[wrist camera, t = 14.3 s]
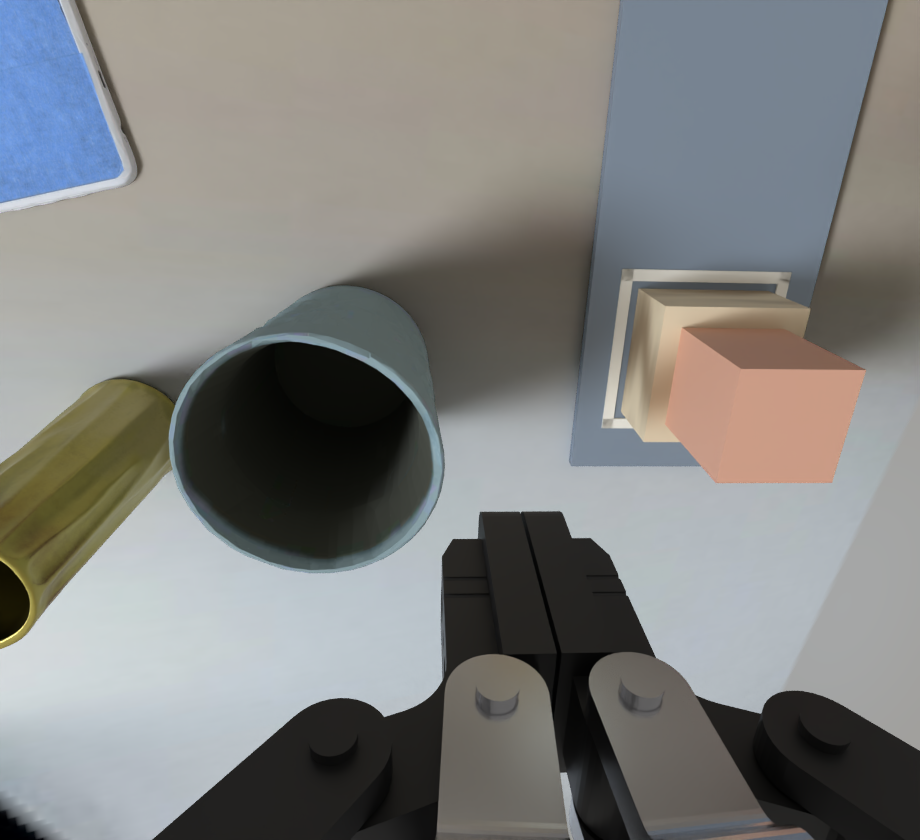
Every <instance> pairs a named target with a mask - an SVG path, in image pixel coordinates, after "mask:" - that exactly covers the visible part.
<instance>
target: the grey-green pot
mask: <svg viewBox="0 0 920 840" xmlns="http://www.w3.org/2000/svg"><path fill="white" fill-rule="evenodd" d="M434 402H435V396H434V390H433V382H432V377H431V374H430V369H429V361H428V354H427V350H426V346H425V342H424V339H423V337H422V335H421V333H420V330H419V328H418V327H417V325H416V324H415V322H414V321H413V319H412V318H411V316H410V315H409V314H408V313H407V312H406V311H405V310H404V309H403V308H402V307H401V306H400V305H398V304H397V303H396V302H394V301H393V300H391V299H390V298H388V297H387V296H384V295H382V294H380V293H378V292H376V291H373V290H369V289H366V288H363V287H356V286H331V287H326V288H322V289H319V290H316V291H314V292H311V293H309V294H307V295H305V296H303V297H302V298H300V299H299V300H297V301H296V302H295V303H293V304H292V305H290V306H289V307H288V308H286V309H285V310H283V311H282V312H280V313H279V314H278V315H277V316H276V317H273V318H272V319H270V320H268V321H267V322H266V324H265V325H264V326H263V327H260V328H256V329H255V330H254V331H253V332H251V333H249V334H248V335H246V336H245V337H243V338H241V339H240V340H238V341H236V342H235V343H233V344H231V345H229V346H228V347H226V348H224V349H222V350H221V351H219V352H217V353H216V354H215V355H213V356H212V357H211V358H209V359H208V360H207V361H206V362H205V363H204V364H203V365H202V366H201V367H200V368H199V369H197V370H196V371H195V373H194V374H193V375H192V377H191V378H190V379H189V381H188V382H187V383H186V385H185V387H184V388H183V390H182V392H181V394H180V396H179V398H178V400H177V402H176V405H175V408H174V411H173V414H172V418H171V424H170V429H169V453H170V460H171V465H172V469H173V473H174V477H175V480H176V483H177V486H178V489H179V491H180V492H181V494H182V496H183V498H184V499H185V501H186V503H187V505H188V506H189V508H190V509H191V511H192V512H193V513H194V514H195V515H196V517H197V518H198V519H199V520H200V521H201V523H202V524H203V525H204V526H205V527H206V528H207V530H209V531H210V532H211V533H212V534H214V535H215V536H216V537H218V538H219V539H220V540H221V541H223V542H224V543H225V544H227V545H228V546H229V547H231V548H233V549H235V550H236V551H238V552H240V553H242V554H244V555H245V556H247V557H250V558H253V559H256V560H258V561H261V562H264V563H267V564H269V565H272V566H275V567H278V568H281V569H285V570H292V571H298V572H305V573H334V572H341V571H349V570H353V569H357V568H360V567H364V566H367V565H369V564H372V563H374V562H376V561H379V560H381V559H384V558H385V557H387V556H389V555H391V554H392V553H394V552H395V551H397V550H398V549H400V548H401V547H402V546H404V545H405V544H406V543H407V542H409V541H410V540H411V539H412V538H413V537H414V536H415V535H416V534H417V533H418V532H419V531H420V529H421V528H422V527H423V526H424V524H425V523H426V521H427V519H428V518H429V516H430V514H431V513H432V511H433V509H434V508H435V506H436V503H437V500H438V498H439V495H440V492H441V488H442V483H443V478H444V468H445V462H444V449H443V444H442V439H441V434H440V428H439V423H438V416H437V412H436V408H435V404H434Z"/></svg>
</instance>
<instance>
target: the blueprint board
mask: <svg viewBox="0 0 920 840" xmlns="http://www.w3.org/2000/svg"><path fill="white" fill-rule="evenodd" d="M887 3H888V0H620V8H619V17H618V26H617V35H616V44H615V53H614V62H613V71H612V80H611V89H610V98H609V107H608V116H607V125H606V134H605V143H604V152H603V161H602V170H601V179H600V188H599V197H598V206H597V215H596V224H595V233H594V242H593V251H592V260H591V269H590V278H589V287H588V296H587V305H586V314H585V323H584V332H583V341H582V350H581V359H580V368H579V377H578V386H577V395H576V404H575V413H574V422H573V431H572V440H571V449H570V458H569V462H570V464H571V466H701V465H700V464H699V463H698V462H697V461H696V459H695V458H694V457H693V456H692V455H691V454H690V453H689V451H688V450H687V449H686V448H685V447H684V446H683V445H682V443H681V442H643V441H642V439H641V438H640V437H639V435H638V434H637V433H636V431H635V430H634V429H633V427H632V426H631V425H630V423H629V422H628V421H627V419H626V418H625V416H624V415H623V414H622V412H621V407H622V400H623V393H624V386H625V379H626V372H627V366H628V359H629V352H630V345H631V338H632V331H633V324H634V317H635V310H636V303H637V296H638V289H693V290H748V291H770V292H772V293H774V294H777V295H779V296H782V297H784V298H786V299H789V300H791V301H794V302H796V303H798V304H801V305H803V306H806V307H808V308H809V307H810V303H811V300H812V296H813V292H814V288H815V284H816V280H817V276H818V272H819V268H820V264H821V261H822V257H823V253H824V249H825V245H826V241H827V237H828V233H829V229H830V225H831V222H832V218H833V214H834V210H835V206H836V202H837V198H838V194H839V190H840V186H841V183H842V179H843V175H844V171H845V167H846V163H847V159H848V155H849V151H850V147H851V144H852V140H853V136H854V132H855V128H856V124H857V120H858V116H859V112H860V108H861V105H862V101H863V97H864V93H865V89H866V85H867V81H868V77H869V73H870V69H871V66H872V62H873V58H874V54H875V50H876V46H877V42H878V38H879V34H880V31H881V27H882V23H883V19H884V15H885V11H886V7H887Z"/></svg>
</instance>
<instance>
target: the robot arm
mask: <svg viewBox="0 0 920 840" xmlns="http://www.w3.org/2000/svg"><path fill="white" fill-rule="evenodd" d="M441 645H442V676H443V681H442V683H441V684H440V686H439V687H438V689H437V690H436V691H435V692H434V693H433V694H432V695H431V696H430V697H429V698H428V699H426V700H425V701H424V702H422V703H421V704H419V705H417V706H415V707H413V708H411V709H408V710H405V711H402V712H399V713H396V714H393V715H390V716H387V717H384V716H383V715H382V714H381V713H380V712H379V711H378V710H377V709H375V708H374V707H373V706H371V705H369V704H367V703H365V702H362V701H359V700H355V699H349V698H337V699H329V700H325V701H321V702H318V703H316V704H313V705H311V706H309V707H307V708H306V709H304V710H302V711H301V712H300V713H298V714H297V715H296V716H294V717H293V718H292V719H291V720H290V721H289V722H287V723H286V724H285V725H284V726H283V727H282V728H280V729H279V730H278V731H277V732H276V733H275V734H274V735H272V736H271V737H270V738H269V739H268V740H267V741H265V742H264V743H263V744H262V745H261V746H260V747H259V748H257V749H256V750H255V751H254V752H253V753H252V754H251V755H249V756H248V757H247V758H246V759H245V760H244V761H242V762H241V763H240V764H239V765H238V766H237V767H236V768H234V769H233V770H232V771H231V772H230V773H229V774H227V775H226V776H225V777H224V778H223V779H222V780H221V781H219V782H218V783H217V784H216V785H215V786H214V787H212V788H211V789H210V790H209V791H208V792H207V793H206V794H204V795H203V796H202V797H201V798H200V799H199V800H197V801H196V802H195V803H194V804H193V805H192V806H191V807H189V808H188V809H187V810H186V811H185V812H184V813H182V814H181V815H180V816H179V817H178V818H177V819H176V820H174V821H173V822H172V823H171V824H170V825H169V826H167V827H166V828H165V829H164V830H163V831H162V832H161V833H159V834H158V835H157V836H156V837H155V838H154V839H152V840H570V838H569V834H568V828H567V821H566V814H565V807H564V799H563V792H562V784H561V777H560V773H562V772H567V775H568V779H569V783H570V788H571V792H572V796H571V803H570V810H569V825H570V830H571V834H572V837H573V840H920V751H919V750H917V749H916V748H914V747H912V746H910V745H909V744H907V743H905V742H904V741H902V740H900V739H899V738H897V737H895V736H893V735H892V734H890V733H888V732H887V731H885V730H883V729H881V728H880V727H878V726H876V725H875V724H873V723H871V722H869V721H868V720H866V719H864V718H863V717H861V716H859V715H858V714H856V713H854V712H853V711H851V710H849V709H848V708H846V707H844V706H842V705H840V704H839V703H836V702H834V701H833V700H830V699H828V698H826V697H823V696H820V695H817V694H814V693H809V692H804V691H785V692H781V693H777V694H775V695H773V696H772V697H770V698H769V699H768V700H767V701H766V703H765V705H764V707H763V710H762V713H761V714H759V713H755V712H751V711H747V710H743V709H739V708H734V707H730V706H726V705H722V704H718V703H715V702H711V701H708V700H706V699H703V698H701V697H698V696H696V695H695V694H694V692H693V691H692V689H691V687H690V686H689V684H688V683H687V681H686V680H685V679H684V678H683V677H682V675H681V674H680V673H679V672H677V671H676V670H675V669H674V668H673V667H671V666H670V665H668V664H666V663H665V662H663V661H661V660H659V659H657V658H656V657H655V655H654V653H653V650H652V648H651V646H650V644H649V642H648V639H647V637H646V635H645V633H644V630H643V628H642V626H641V624H640V622H639V619H638V617H637V615H636V613H635V611H634V608H633V606H632V604H631V602H630V600H629V597H628V596H626V591H625V589H624V586H623V584H622V582H621V580H620V579H619V578H618V573H617V571H616V569H615V566H614V564H613V562H612V560H611V558H610V555H609V554H607V553H606V552H605V551H604V550H603V549H602V548H601V547H600V546H599V545H597V544H596V543H595V542H594V541H593V540H592V539H591V538H572V537H571V535H570V532H569V529H568V527H567V524H566V521H565V519H564V516H563V514H562V512H560V511H552V512H521V514H520V512H480V515H479V528H478V539H453V540H452V542H451V543H450V545H449V546H448V548H447V550H446V551H445V553H444V554H443V556H442V587H441Z"/></svg>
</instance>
